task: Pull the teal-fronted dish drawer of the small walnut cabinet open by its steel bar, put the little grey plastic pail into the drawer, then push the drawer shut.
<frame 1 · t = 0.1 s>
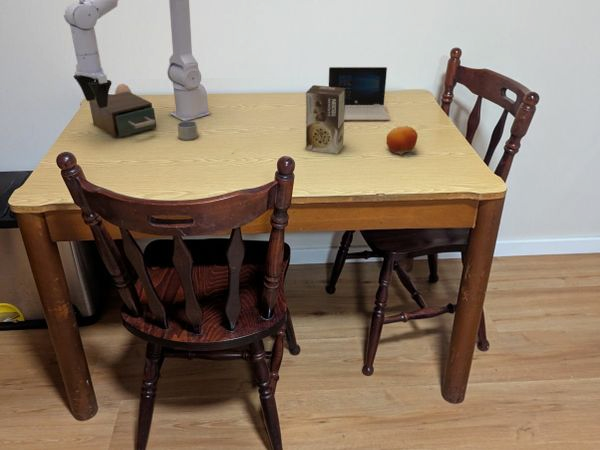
hand: (96, 103, 152), 10 cm above the table, tool pointing down, fingers open, 7 cm apart
fruit: (400, 151, 150), on the table
drawer: (130, 118, 160), point 4 cm above the table, slide at 0.8 cm
cabinet: (124, 125, 165), on the table
egg: (125, 105, 181), on the table
cookie box: (324, 148, 152), on the table
grey plastic pail: (188, 137, 158), on the table
laptop: (357, 114, 174), on the table
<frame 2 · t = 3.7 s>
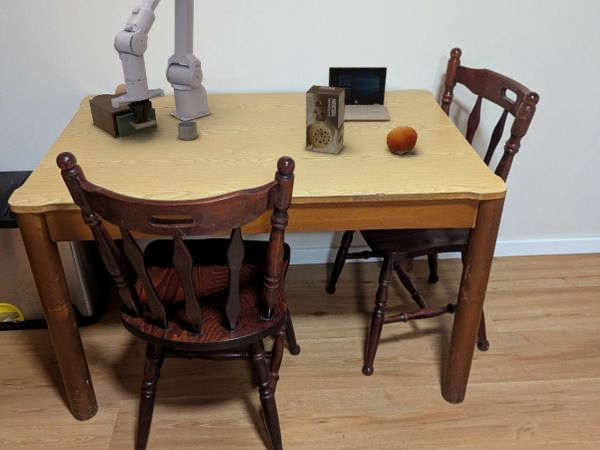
hand: (142, 126, 155), 3 cm above the table, tool pointing down, fingers closed, pressing on drawer
drawer: (131, 118, 160), point 4 cm above the table, slide at 1.4 cm, touching gripper
everything else where it was.
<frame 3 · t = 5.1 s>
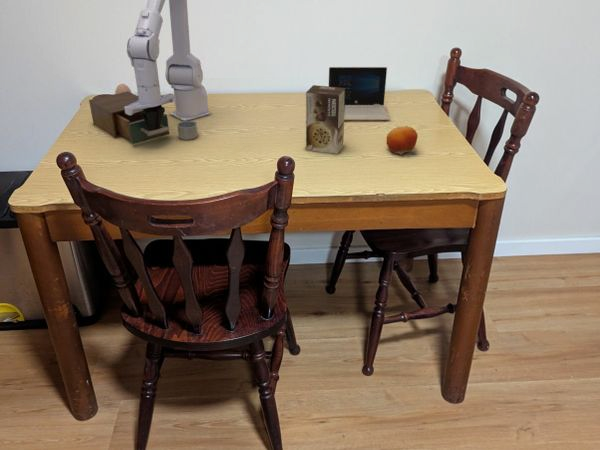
hand: (154, 133, 151), 3 cm above the table, tool pointing down, fingers closed
drawer: (142, 125, 155), point 4 cm above the table, slide at 8.1 cm, touching gripper
everything else where it was.
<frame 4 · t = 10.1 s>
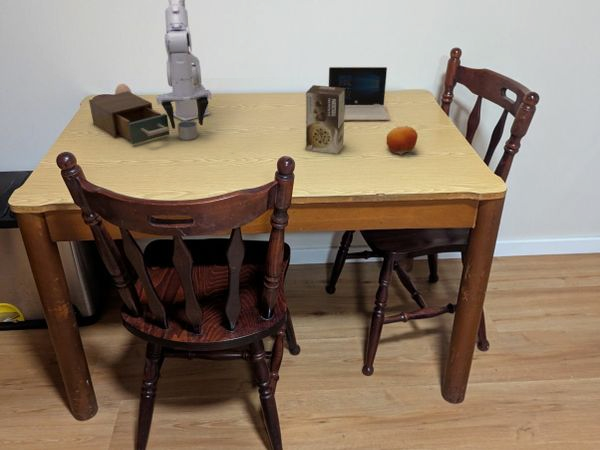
hand: (187, 125, 156), 3 cm above the table, tool pointing down, fingers open, 7 cm apart
drawer: (142, 125, 155), point 4 cm above the table, slide at 8.1 cm
everything else where it was.
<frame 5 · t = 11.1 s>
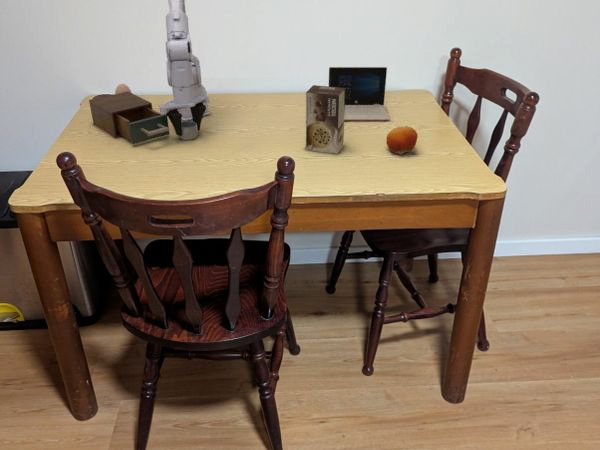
hand: (187, 132, 157), 1 cm above the table, tool pointing down, fingers closed on grey plastic pail, 5 cm apart
grey plastic pail: (188, 137, 158), on the table, touching gripper
everything else where it was.
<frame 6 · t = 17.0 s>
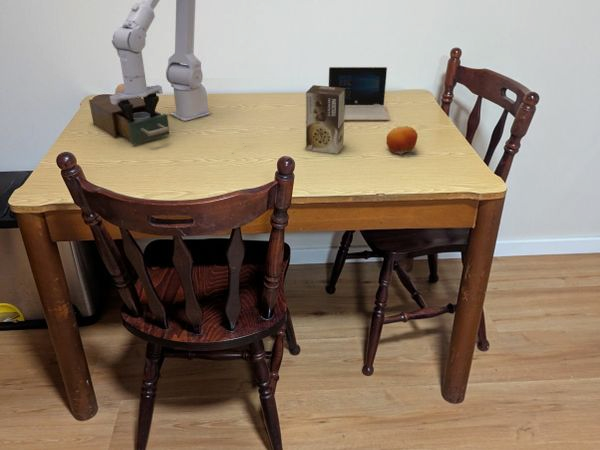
hand: (141, 123, 156), 4 cm above the table, tool pointing down, fingers closed on grey plastic pail, 5 cm apart
grey plastic pail: (142, 128, 156), point 3 cm above the table, touching gripper
everything else where it was.
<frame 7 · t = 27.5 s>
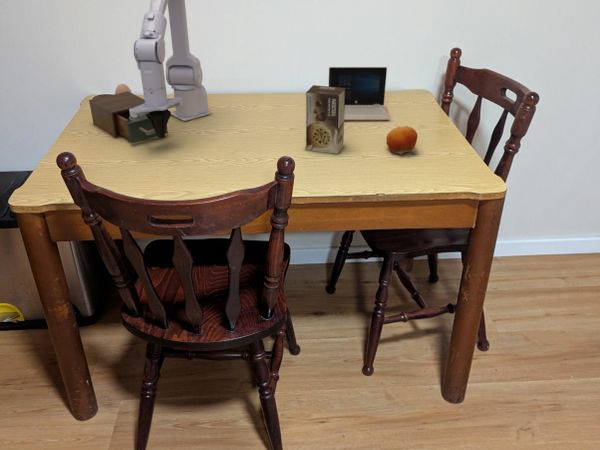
hand: (160, 137, 149), 3 cm above the table, tool pointing down, fingers closed, pressing on drawer
drawer: (141, 124, 156), point 4 cm above the table, slide at 7.3 cm, touching grey plastic pail, gripper
grey plastic pail: (140, 129, 157), point 2 cm above the table, touching drawer
everything else where it was.
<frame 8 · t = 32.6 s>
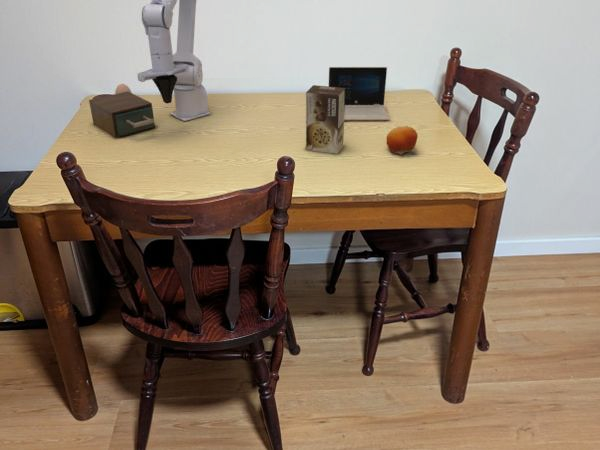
hand: (167, 102, 155), 9 cm above the table, tool pointing down, fingers closed
drawer: (128, 117, 160), point 4 cm above the table, slide at 0.0 cm, touching grey plastic pail
grey plastic pail: (128, 122, 162), point 2 cm above the table, touching drawer
everything else where it was.
at the end: drawer pulled out 8.1 cm at the most during the clip, back to where it started at the end; grey plastic pail inside the target area in the cabinet (3.4 cm from its centre), point 1.9 cm above the cabinet's base; drawer slide at 0.0 cm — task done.
